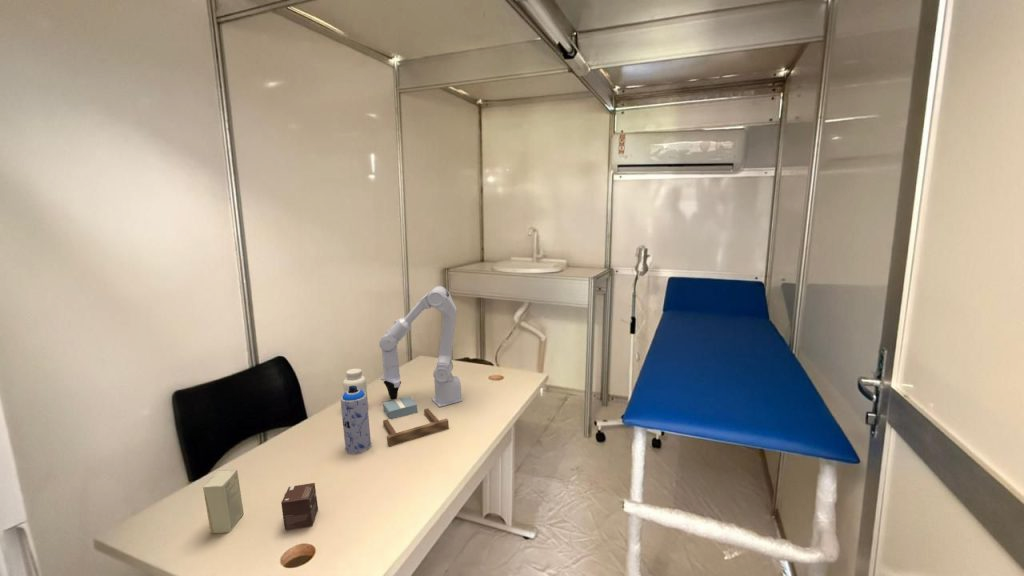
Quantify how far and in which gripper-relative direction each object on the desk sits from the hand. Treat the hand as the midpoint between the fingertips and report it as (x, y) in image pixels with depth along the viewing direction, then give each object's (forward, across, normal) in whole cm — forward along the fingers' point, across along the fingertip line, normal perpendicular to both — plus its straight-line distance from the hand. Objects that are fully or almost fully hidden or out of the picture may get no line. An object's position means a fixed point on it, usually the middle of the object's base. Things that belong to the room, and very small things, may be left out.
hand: (393, 398), depth 159 cm
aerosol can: (+2, +25, -18) cm, 31 cm away
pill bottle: (+2, -2, -13) cm, 13 cm away
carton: (+2, +9, 0) cm, 9 cm away
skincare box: (+2, +42, -51) cm, 66 cm away
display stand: (+2, +23, 0) cm, 23 cm away
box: (+2, +50, -36) cm, 61 cm away
